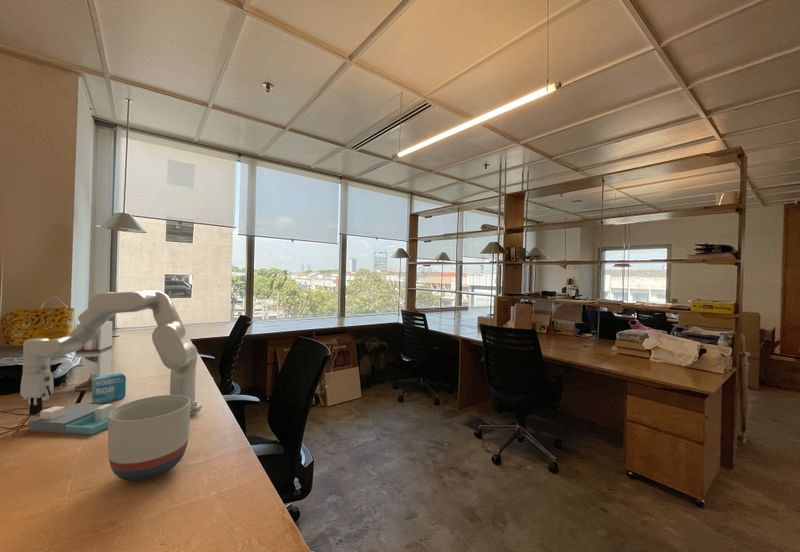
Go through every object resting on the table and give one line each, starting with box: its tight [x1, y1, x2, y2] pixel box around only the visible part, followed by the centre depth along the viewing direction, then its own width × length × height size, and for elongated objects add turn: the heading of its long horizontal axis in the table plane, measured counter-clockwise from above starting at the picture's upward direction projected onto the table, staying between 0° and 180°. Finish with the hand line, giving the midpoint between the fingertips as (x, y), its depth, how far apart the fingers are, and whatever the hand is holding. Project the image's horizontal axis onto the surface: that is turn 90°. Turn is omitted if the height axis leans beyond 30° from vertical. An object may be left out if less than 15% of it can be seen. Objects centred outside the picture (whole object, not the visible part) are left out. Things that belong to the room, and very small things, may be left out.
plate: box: [27, 402, 104, 434], centre depth 137 cm, size 16×18×4 cm
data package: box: [91, 372, 127, 404], centre depth 161 cm, size 12×4×12 cm, turn 139°
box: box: [64, 407, 116, 437], centre depth 135 cm, size 12×18×3 cm, turn 174°
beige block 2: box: [95, 403, 114, 421], centre depth 140 cm, size 5×5×3 cm
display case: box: [74, 320, 113, 391], centre depth 180 cm, size 11×11×35 cm
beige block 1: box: [39, 405, 66, 419], centre depth 133 cm, size 5×5×3 cm
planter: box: [107, 394, 191, 483], centre depth 102 cm, size 20×20×21 cm
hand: (35, 413), depth 134 cm, fingers closed
